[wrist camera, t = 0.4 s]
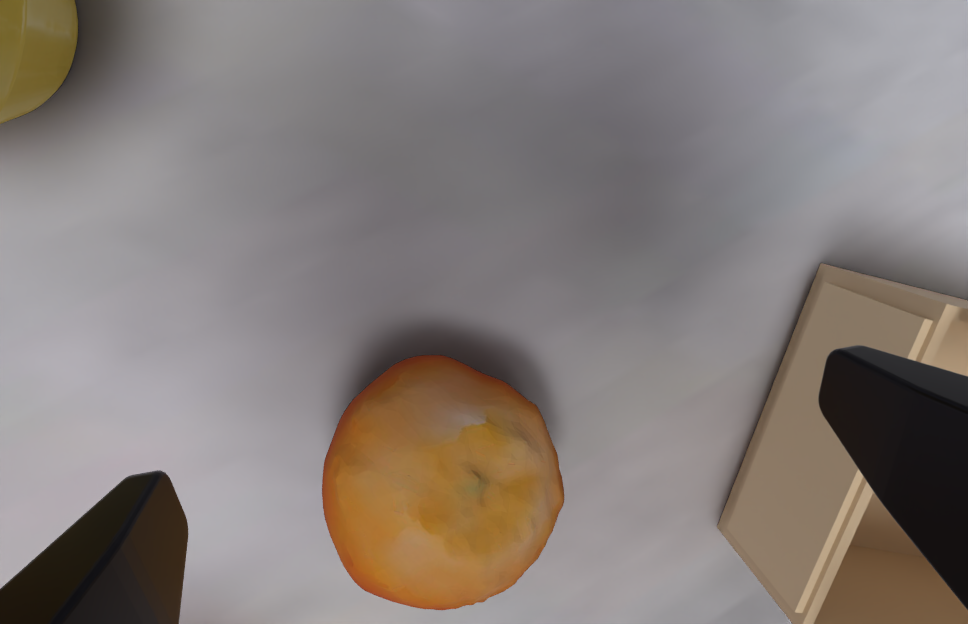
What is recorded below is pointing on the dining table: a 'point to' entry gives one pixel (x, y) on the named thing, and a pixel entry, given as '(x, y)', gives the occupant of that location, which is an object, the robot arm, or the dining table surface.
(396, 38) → the dining table surface
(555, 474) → the fruit
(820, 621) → the carton
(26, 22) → the plant pot
